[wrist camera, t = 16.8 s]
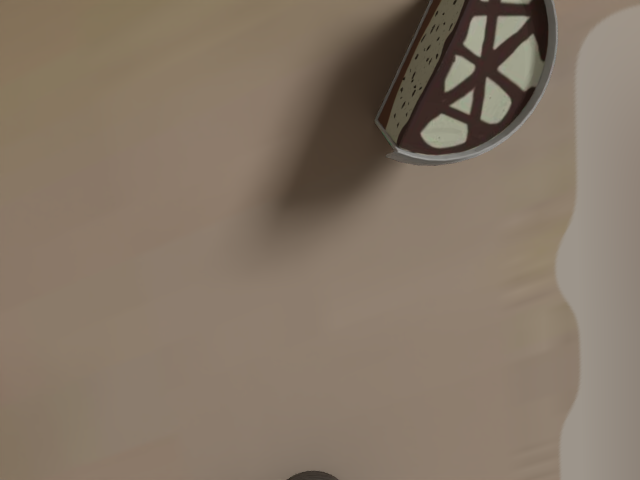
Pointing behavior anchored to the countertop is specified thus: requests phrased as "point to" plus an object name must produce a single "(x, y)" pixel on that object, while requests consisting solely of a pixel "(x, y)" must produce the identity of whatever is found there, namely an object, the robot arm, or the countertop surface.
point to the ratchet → (313, 476)
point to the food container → (468, 78)
